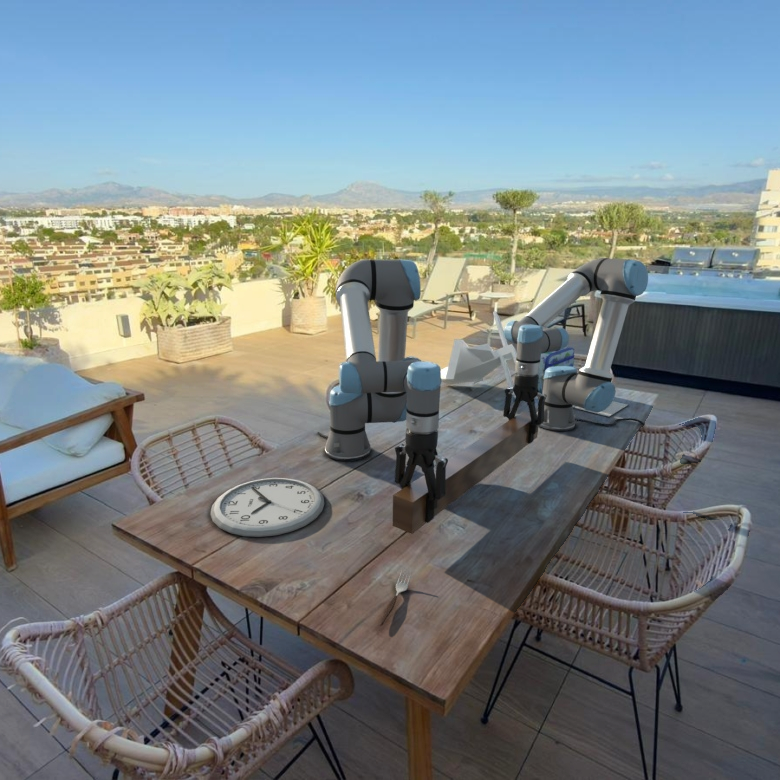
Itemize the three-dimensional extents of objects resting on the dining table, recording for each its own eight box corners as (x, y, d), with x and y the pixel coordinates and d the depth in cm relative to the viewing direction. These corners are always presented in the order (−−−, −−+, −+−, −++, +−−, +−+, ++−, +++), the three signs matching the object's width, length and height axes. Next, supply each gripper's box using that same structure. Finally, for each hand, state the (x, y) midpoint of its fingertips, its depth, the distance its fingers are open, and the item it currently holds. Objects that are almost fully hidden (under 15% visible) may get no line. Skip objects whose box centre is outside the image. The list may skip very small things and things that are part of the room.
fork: (373, 626, 100) (374, 617, 99) (401, 576, 114) (401, 568, 113) (386, 630, 99) (386, 621, 98) (412, 579, 113) (412, 571, 112)
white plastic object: (461, 429, 252) (437, 405, 227) (444, 352, 274) (420, 323, 250) (535, 404, 240) (518, 377, 215) (510, 326, 262) (492, 293, 237)
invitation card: (608, 416, 214) (573, 407, 224) (608, 416, 214) (573, 408, 224) (628, 404, 229) (594, 396, 238) (628, 405, 229) (594, 397, 238)
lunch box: (546, 398, 236) (551, 353, 229) (525, 393, 243) (529, 349, 237) (573, 387, 253) (579, 344, 247) (553, 382, 260) (558, 341, 254)
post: (521, 433, 182) (523, 410, 180) (537, 437, 179) (539, 414, 176) (392, 525, 125) (392, 494, 123) (411, 534, 122) (412, 502, 119)
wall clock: (322, 529, 128) (196, 532, 126) (322, 534, 129) (197, 538, 126) (326, 473, 157) (223, 476, 154) (326, 478, 157) (224, 481, 155)
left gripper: (380, 423, 124) (378, 509, 131) (448, 444, 113) (443, 536, 120) (398, 414, 129) (396, 497, 137) (465, 434, 119) (459, 522, 126)
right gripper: (495, 371, 170) (490, 436, 178) (551, 381, 160) (544, 450, 167) (505, 366, 176) (500, 429, 183) (559, 375, 165) (552, 443, 173)
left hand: (418, 515), depth 129 cm, fingers closed on post, 6 cm apart
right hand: (521, 439), depth 175 cm, fingers closed on post, 6 cm apart
